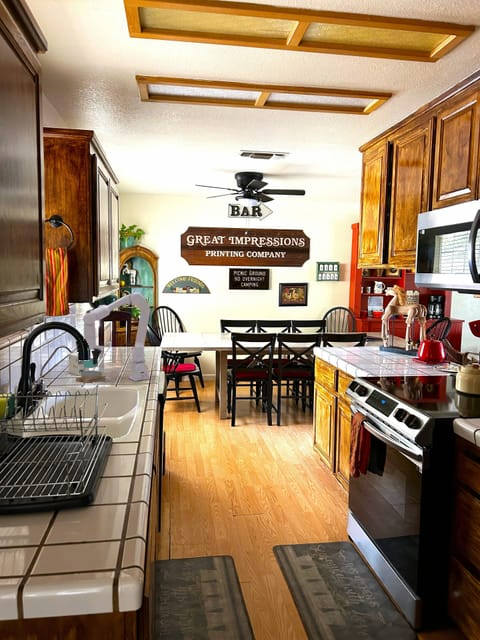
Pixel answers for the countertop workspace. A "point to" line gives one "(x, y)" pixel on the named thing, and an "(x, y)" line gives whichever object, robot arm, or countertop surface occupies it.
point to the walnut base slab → (86, 380)
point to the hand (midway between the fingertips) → (90, 363)
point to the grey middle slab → (91, 374)
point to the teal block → (90, 364)
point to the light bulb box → (76, 364)
